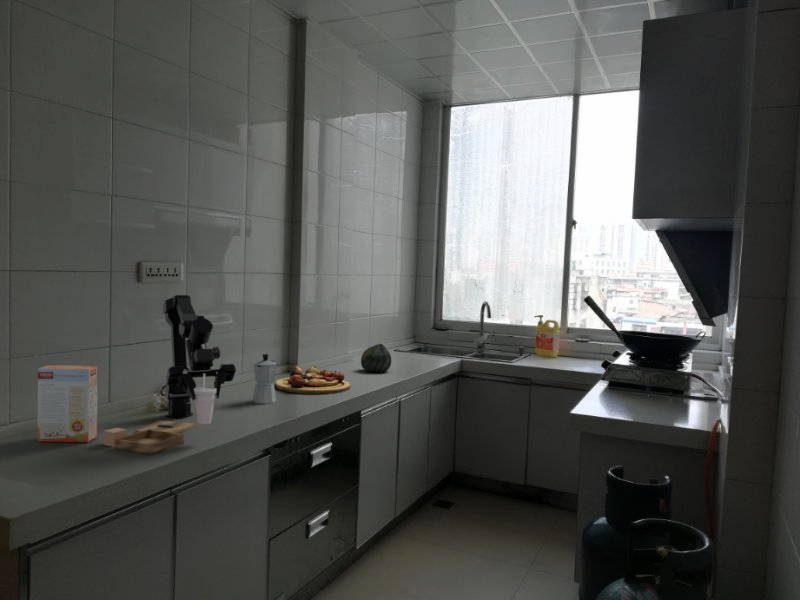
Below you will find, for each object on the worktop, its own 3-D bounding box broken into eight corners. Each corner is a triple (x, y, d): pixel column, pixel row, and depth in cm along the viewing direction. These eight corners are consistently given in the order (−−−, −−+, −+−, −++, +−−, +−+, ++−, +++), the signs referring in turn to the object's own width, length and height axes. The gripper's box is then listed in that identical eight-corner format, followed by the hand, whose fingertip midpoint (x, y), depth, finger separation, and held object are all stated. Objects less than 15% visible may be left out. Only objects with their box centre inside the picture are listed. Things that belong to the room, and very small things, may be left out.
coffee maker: (268, 406, 221) (269, 357, 220) (245, 404, 223) (247, 355, 222) (284, 397, 236) (285, 351, 235) (263, 396, 237) (264, 350, 236)
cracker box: (97, 437, 175) (98, 365, 174) (87, 443, 169) (88, 368, 168) (48, 436, 175) (48, 363, 173) (36, 442, 169) (36, 367, 167)
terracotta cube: (116, 427, 172) (116, 441, 172) (104, 430, 168) (103, 444, 169) (126, 429, 170) (126, 443, 170) (113, 432, 166) (113, 447, 167)
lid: (135, 432, 181) (135, 428, 181) (159, 422, 193) (159, 418, 193) (173, 436, 178) (173, 431, 178) (195, 426, 191) (195, 421, 191)
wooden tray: (115, 448, 165) (115, 439, 165) (149, 437, 177) (149, 428, 177) (151, 455, 161) (151, 445, 161) (183, 443, 172) (183, 434, 172)
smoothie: (207, 418, 178) (208, 370, 177) (220, 422, 174) (221, 374, 173) (188, 422, 173) (188, 373, 172) (200, 426, 169) (201, 376, 168)
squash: (357, 357, 310) (363, 338, 300) (385, 358, 314) (392, 339, 305) (361, 380, 300) (367, 360, 290) (390, 380, 305) (397, 361, 295)
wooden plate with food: (312, 399, 237) (313, 378, 236) (258, 386, 256) (259, 366, 256) (365, 389, 262) (366, 370, 262) (313, 378, 282) (314, 361, 281)
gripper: (168, 338, 170) (176, 385, 162) (235, 336, 180) (245, 380, 171) (163, 361, 177) (169, 407, 169) (227, 358, 187) (236, 402, 178)
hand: (206, 398), depth 172 cm, fingers closed on smoothie, 6 cm apart
